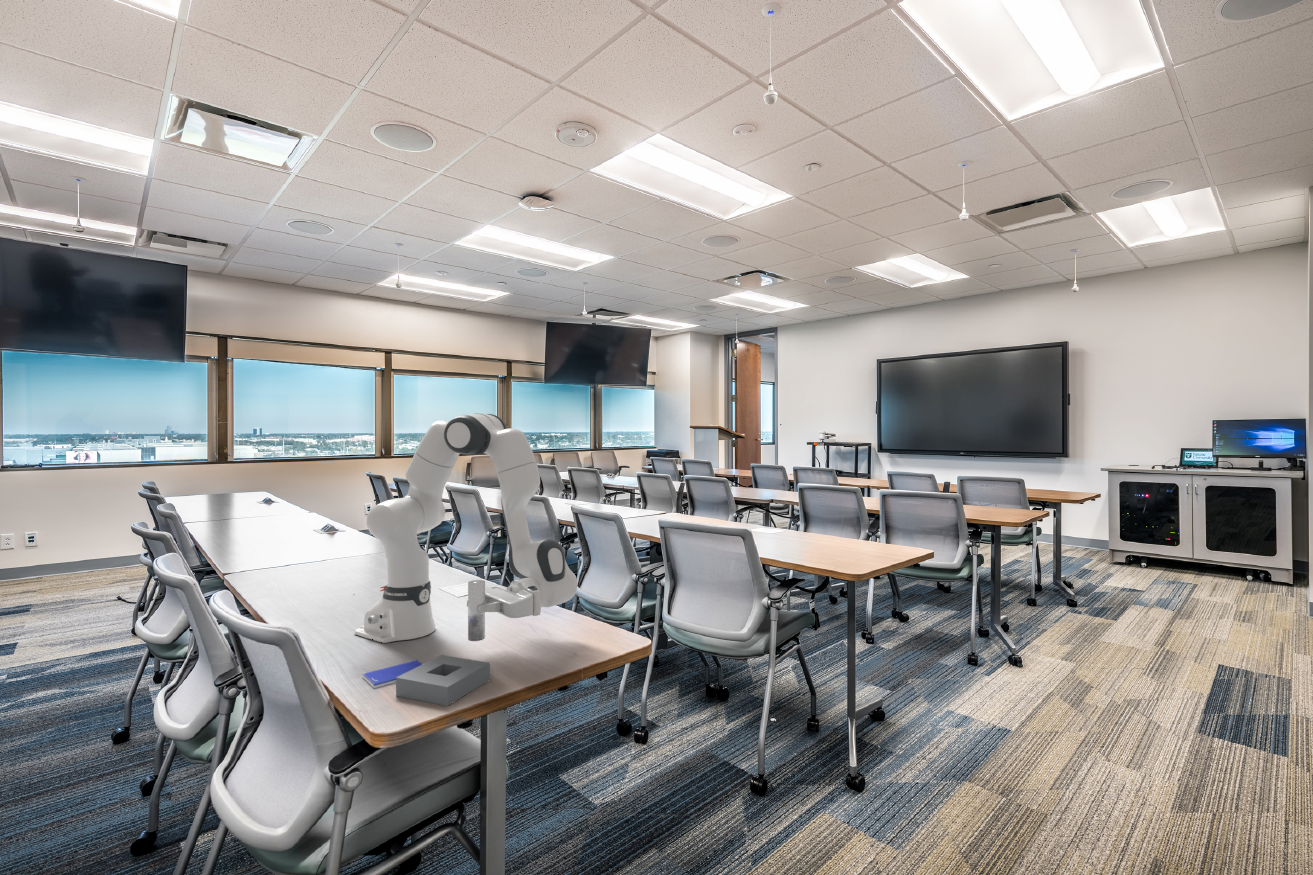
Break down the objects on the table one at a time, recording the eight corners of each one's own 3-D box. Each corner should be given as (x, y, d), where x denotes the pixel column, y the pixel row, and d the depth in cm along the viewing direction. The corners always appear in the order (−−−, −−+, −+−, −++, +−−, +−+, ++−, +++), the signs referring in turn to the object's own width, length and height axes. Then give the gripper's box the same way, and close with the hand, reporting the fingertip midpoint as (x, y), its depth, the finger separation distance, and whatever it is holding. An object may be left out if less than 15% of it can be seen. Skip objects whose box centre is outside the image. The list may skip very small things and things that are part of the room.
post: (464, 639, 143) (464, 583, 143) (475, 634, 147) (475, 579, 147) (477, 642, 141) (478, 584, 141) (488, 636, 145) (488, 580, 145)
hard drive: (373, 683, 130) (429, 668, 139) (362, 672, 136) (416, 659, 145) (373, 690, 130) (429, 675, 139) (362, 679, 136) (416, 665, 145)
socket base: (396, 695, 126) (396, 677, 126) (442, 671, 139) (441, 654, 139) (447, 706, 121) (447, 686, 121) (490, 679, 134) (490, 662, 134)
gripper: (502, 576, 160) (454, 585, 151) (543, 591, 146) (493, 602, 136) (502, 599, 160) (454, 610, 151) (543, 616, 146) (493, 629, 136)
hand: (473, 606), depth 143 cm, fingers closed on post, 4 cm apart
